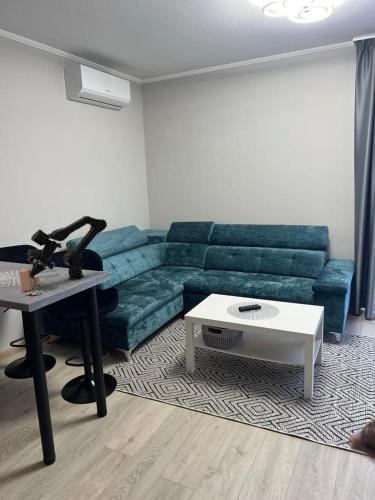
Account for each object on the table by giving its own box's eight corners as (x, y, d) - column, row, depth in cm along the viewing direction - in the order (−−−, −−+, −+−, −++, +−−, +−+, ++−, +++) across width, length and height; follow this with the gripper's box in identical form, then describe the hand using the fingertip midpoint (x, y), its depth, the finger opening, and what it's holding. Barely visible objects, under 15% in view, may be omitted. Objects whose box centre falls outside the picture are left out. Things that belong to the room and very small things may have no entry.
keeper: (33, 285, 193) (32, 276, 192) (31, 286, 191) (29, 277, 190) (22, 285, 195) (21, 276, 194) (20, 286, 193) (18, 277, 192)
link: (31, 283, 198) (28, 265, 196) (40, 282, 198) (37, 264, 196) (21, 291, 184) (18, 271, 182) (31, 290, 184) (28, 270, 182)
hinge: (25, 281, 204) (23, 263, 206) (26, 281, 209) (24, 264, 210) (57, 276, 210) (54, 259, 212) (57, 277, 215) (54, 260, 216)
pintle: (42, 282, 198) (41, 275, 197) (35, 286, 192) (34, 278, 191) (32, 282, 199) (31, 275, 198) (25, 286, 193) (24, 278, 193)
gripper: (27, 241, 192) (10, 266, 186) (44, 243, 179) (25, 271, 174) (44, 252, 199) (28, 277, 194) (61, 255, 186) (44, 282, 181)
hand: (31, 276), depth 185 cm, fingers closed
